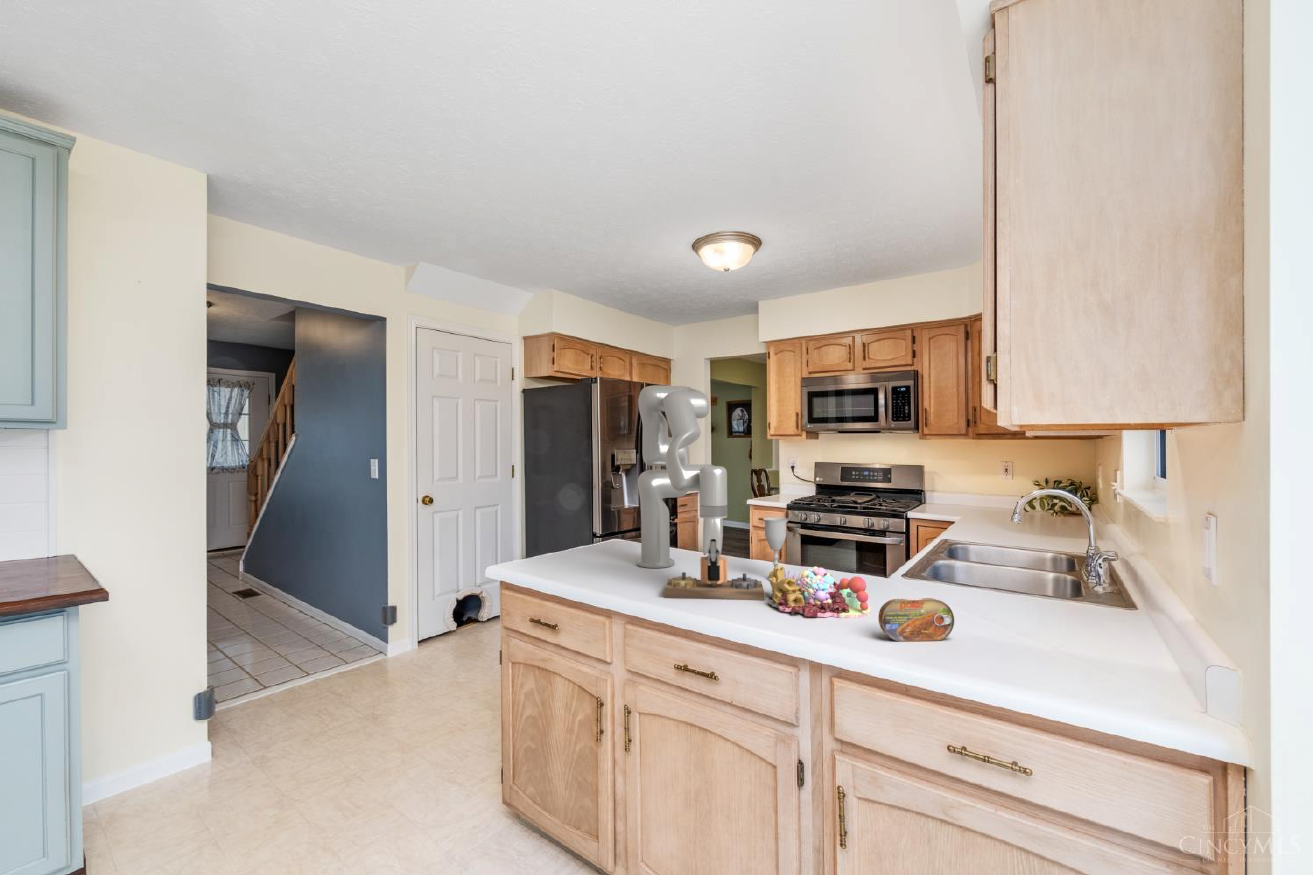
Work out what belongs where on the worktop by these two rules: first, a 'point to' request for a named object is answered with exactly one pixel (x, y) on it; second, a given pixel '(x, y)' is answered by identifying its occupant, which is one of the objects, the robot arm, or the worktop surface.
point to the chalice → (775, 535)
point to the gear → (705, 570)
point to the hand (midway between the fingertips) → (713, 576)
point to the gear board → (714, 589)
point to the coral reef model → (818, 594)
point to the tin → (916, 619)
